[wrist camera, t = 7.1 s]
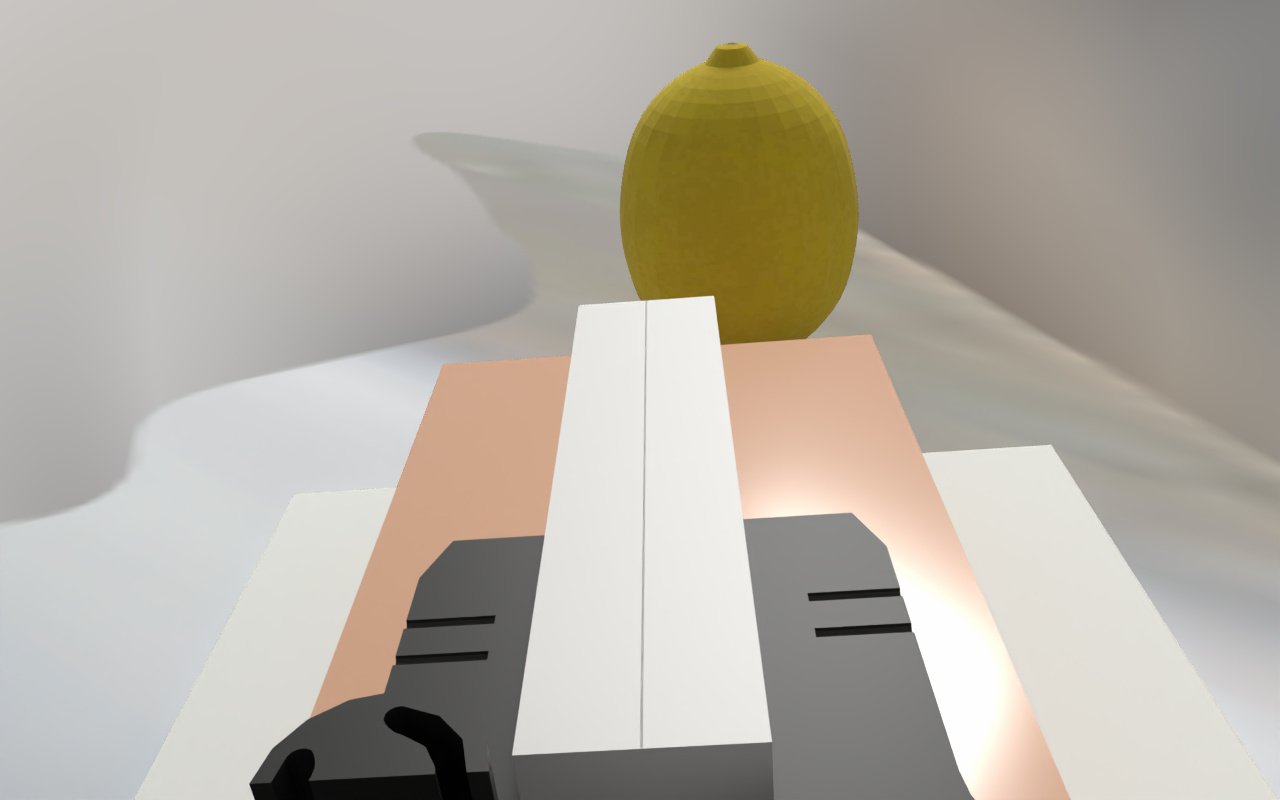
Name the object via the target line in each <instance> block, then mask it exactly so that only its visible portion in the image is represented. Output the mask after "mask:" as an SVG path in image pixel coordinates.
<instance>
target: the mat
mask: <svg viewBox="0 0 1280 800" xmlns="http://www.w3.org/2000/svg"><path fill="white" fill-rule="evenodd" d="M922 454H923V457H924V459H925V461H926V464H927V466H928V468H929V471H930V473H931V475H932V478H933V480H934V482H935V485H936V487H937V489H938V492H939V494H940V496H941V499H942V501H943V503H944V506H945V508H946V510H947V513H948V515H949V517H950V520H951V522H952V524H953V527H954V529H955V531H956V534H957V536H958V538H959V541H960V543H961V545H962V548H963V550H964V552H965V555H966V557H967V559H968V562H969V564H970V566H971V569H972V571H973V573H974V576H975V578H976V580H977V583H978V585H979V587H980V590H981V592H982V594H983V597H984V599H985V601H986V604H987V606H988V608H989V611H990V613H991V615H992V618H993V620H994V622H995V625H996V627H997V629H998V632H999V634H1000V636H1001V639H1002V641H1003V643H1004V646H1005V648H1006V650H1007V653H1008V655H1009V657H1010V660H1011V662H1012V664H1013V667H1014V669H1015V671H1016V674H1017V676H1018V678H1019V681H1020V683H1021V685H1022V688H1023V690H1024V692H1025V695H1026V697H1027V699H1028V702H1029V704H1030V706H1031V708H1032V711H1033V713H1034V715H1035V718H1036V720H1037V722H1038V725H1039V727H1040V729H1041V732H1042V734H1043V736H1044V739H1045V741H1046V743H1047V746H1048V748H1049V750H1050V753H1051V755H1052V757H1053V760H1054V762H1055V764H1056V767H1057V769H1058V771H1059V774H1060V776H1061V778H1062V781H1063V783H1064V785H1065V788H1066V790H1067V792H1068V795H1069V797H1070V799H1071V800H1278V798H1277V797H1276V795H1275V794H1274V792H1273V791H1272V789H1271V788H1270V786H1269V784H1268V783H1267V781H1266V780H1265V778H1264V777H1263V775H1262V774H1261V772H1260V770H1259V769H1258V767H1257V766H1256V764H1255V763H1254V761H1253V759H1252V758H1251V756H1250V755H1249V753H1248V752H1247V750H1246V749H1245V747H1244V745H1243V744H1242V742H1241V741H1240V739H1239V738H1238V736H1237V734H1236V733H1235V731H1234V730H1233V728H1232V727H1231V725H1230V724H1229V722H1228V720H1227V719H1226V717H1225V716H1224V714H1223V713H1222V711H1221V709H1220V708H1219V706H1218V705H1217V703H1216V702H1215V700H1214V699H1213V697H1212V695H1211V694H1210V692H1209V691H1208V689H1207V688H1206V686H1205V685H1204V683H1203V681H1202V680H1201V678H1200V677H1199V675H1198V674H1197V672H1196V670H1195V669H1194V667H1193V666H1192V664H1191V663H1190V661H1189V660H1188V658H1187V656H1186V655H1185V653H1184V652H1183V650H1182V649H1181V647H1180V645H1179V644H1178V642H1177V641H1176V639H1175V638H1174V636H1173V635H1172V633H1171V631H1170V630H1169V628H1168V627H1167V625H1166V624H1165V622H1164V620H1163V619H1162V617H1161V616H1160V614H1159V613H1158V611H1157V610H1156V608H1155V606H1154V605H1153V603H1152V602H1151V600H1150V599H1149V597H1148V596H1147V594H1146V592H1145V591H1144V589H1143V588H1142V586H1141V585H1140V583H1139V581H1138V580H1137V578H1136V577H1135V575H1134V574H1133V572H1132V571H1131V569H1130V567H1129V566H1128V564H1127V563H1126V561H1125V560H1124V558H1123V556H1122V555H1121V553H1120V552H1119V550H1118V549H1117V547H1116V546H1115V544H1114V542H1113V541H1112V539H1111V538H1110V536H1109V535H1108V533H1107V532H1106V530H1105V528H1104V527H1103V525H1102V524H1101V522H1100V521H1099V519H1098V517H1097V516H1096V514H1095V513H1094V511H1093V510H1092V508H1091V507H1090V505H1089V503H1088V502H1087V500H1086V499H1085V497H1084V496H1083V494H1082V492H1081V491H1080V489H1079V488H1078V486H1077V485H1076V483H1075V482H1074V480H1073V478H1072V477H1071V475H1070V474H1069V472H1068V471H1067V469H1066V467H1065V466H1064V464H1063V463H1062V461H1061V460H1060V458H1059V457H1058V455H1057V453H1056V452H1055V450H1054V449H1053V447H1052V446H1051V445H1042V446H1026V447H1011V448H995V449H980V450H965V451H949V452H934V453H922ZM396 488H397V487H393V488H377V489H362V490H347V491H331V492H316V493H300V494H294V495H293V497H292V499H291V501H290V503H289V505H288V507H287V509H286V511H285V513H284V515H283V516H282V518H281V520H280V522H279V524H278V526H277V528H276V530H275V532H274V534H273V536H272V537H271V539H270V541H269V543H268V545H267V547H266V549H265V551H264V553H263V555H262V556H261V558H260V560H259V562H258V564H257V566H256V568H255V570H254V572H253V574H252V576H251V577H250V579H249V581H248V583H247V585H246V587H245V589H244V591H243V593H242V595H241V597H240V598H239V600H238V602H237V604H236V606H235V608H234V610H233V612H232V614H231V616H230V617H229V619H228V621H227V623H226V625H225V627H224V629H223V631H222V633H221V635H220V637H219V638H218V640H217V642H216V644H215V646H214V648H213V650H212V652H211V654H210V656H209V658H208V659H207V661H206V663H205V665H204V667H203V669H202V671H201V673H200V675H199V677H198V678H197V680H196V682H195V684H194V686H193V688H192V690H191V692H190V694H189V696H188V698H187V699H186V701H185V703H184V705H183V707H182V709H181V711H180V713H179V715H178V717H177V719H176V720H175V722H174V724H173V726H172V728H171V730H170V732H169V734H168V736H167V738H166V739H165V741H164V743H163V745H162V747H161V749H160V751H159V753H158V755H157V757H156V759H155V760H154V762H153V764H152V766H151V768H150V770H149V772H148V774H147V776H146V778H145V780H144V781H143V783H142V785H141V787H140V789H139V791H138V793H137V795H136V797H135V799H134V800H255V799H254V797H253V794H252V791H251V788H250V785H249V783H250V782H251V780H252V779H253V777H254V776H255V774H256V773H257V771H258V769H259V768H260V766H261V765H262V763H263V762H264V760H265V759H266V757H267V756H268V754H269V753H270V751H271V750H272V748H273V747H275V746H276V745H277V744H278V743H279V742H281V741H282V740H283V739H284V738H286V737H287V736H288V735H289V734H290V733H292V732H293V731H294V730H295V729H296V728H298V727H299V726H300V725H301V724H303V723H304V722H305V721H306V720H307V719H309V718H310V716H311V714H312V711H313V708H314V706H315V703H316V700H317V698H318V695H319V692H320V690H321V687H322V685H323V682H324V679H325V677H326V674H327V671H328V669H329V666H330V663H331V661H332V658H333V655H334V653H335V650H336V647H337V645H338V642H339V639H340V637H341V634H342V631H343V629H344V626H345V623H346V621H347V618H348V615H349V613H350V610H351V608H352V605H353V602H354V600H355V597H356V594H357V592H358V589H359V586H360V584H361V581H362V578H363V576H364V573H365V570H366V568H367V565H368V562H369V560H370V557H371V554H372V552H373V549H374V546H375V544H376V541H377V539H378V536H379V533H380V531H381V528H382V525H383V523H384V520H385V517H386V515H387V512H388V509H389V507H390V504H391V501H392V499H393V496H394V493H395V491H396Z"/></svg>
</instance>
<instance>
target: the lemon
mask: <svg viewBox="0 0 1280 800" xmlns="http://www.w3.org/2000/svg"><path fill="white" fill-rule="evenodd" d="M858 215H859V213H858V194H857V185H856V179H855V173H854V168H853V163H852V159H851V155H850V151H849V148H848V145H847V141H846V138H845V135H844V133H843V131H842V128H841V126H840V124H839V121H838V119H837V118H836V116H835V115H834V113H833V111H832V110H831V108H830V107H829V105H828V103H827V102H826V101H825V99H824V98H823V97H822V96H821V95H820V94H819V93H818V92H817V91H816V89H814V88H813V87H812V86H811V85H810V84H809V83H808V82H806V81H805V80H804V79H803V78H801V77H800V76H798V75H797V74H795V73H793V72H792V71H790V70H789V69H786V68H784V67H782V66H780V65H777V64H775V63H772V62H770V61H767V60H763V59H760V58H758V57H757V56H756V55H755V53H754V52H753V51H752V50H751V49H750V48H749V47H748V45H747V44H743V43H728V44H723V45H719V46H717V47H716V48H715V49H714V51H713V52H712V54H711V55H710V57H709V58H708V59H707V61H706V62H704V63H702V64H700V65H698V66H695V67H693V68H691V69H690V70H688V71H686V72H685V73H683V74H681V75H680V76H678V77H677V78H675V79H674V80H673V81H672V82H671V83H669V84H668V85H667V86H666V87H664V88H663V89H662V90H661V92H660V93H659V94H658V95H657V96H656V97H655V98H654V99H653V100H652V101H651V103H650V104H649V106H648V107H647V108H646V110H645V111H644V113H643V114H642V116H641V118H640V121H639V123H638V124H637V127H636V129H635V131H634V133H633V136H632V139H631V142H630V145H629V148H628V152H627V156H626V161H625V165H624V172H623V178H622V187H621V197H620V225H621V235H622V243H623V248H624V253H625V258H626V261H627V265H628V268H629V272H630V275H631V278H632V281H633V284H634V286H635V289H636V291H637V294H638V296H639V298H640V300H641V301H648V300H662V299H676V298H690V297H704V296H714V300H715V307H716V315H717V323H718V330H719V338H720V345H728V344H742V343H757V342H771V341H785V340H800V339H806V338H807V337H808V336H809V335H811V334H812V333H813V332H814V331H815V330H816V329H817V328H818V327H819V326H820V325H821V324H822V323H823V321H824V320H825V319H826V318H827V317H828V315H829V314H830V313H831V312H832V311H833V309H834V308H835V306H836V304H837V303H838V301H839V300H840V298H841V296H842V293H843V291H844V289H845V287H846V284H847V281H848V278H849V275H850V271H851V267H852V262H853V257H854V252H855V247H856V241H857V233H858Z"/></svg>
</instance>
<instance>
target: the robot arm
mask: <svg viewBox="0 0 1280 800" xmlns="http://www.w3.org/2000/svg"><path fill="white" fill-rule="evenodd" d="M406 622H407V628H406V629H403V633H402V636H401V639H400V643H399V646H398V649H397V652H396V656H395V657H396V664H395V665H393V666H392V669H391V672H390V675H389V679H388V682H387V685H386V688H385V692H384V693H383V694H377V695H372V696H367V697H362V698H357V699H351V700H348V701H346V702H344V703H342V704H340V705H337V706H335V707H333V708H331V709H329V710H327V711H325V712H322V713H320V714H318V715H316V716H314V717H312V718H309V719H307V720H306V721H305V722H304V723H303V724H301V725H300V726H299V727H298V728H296V729H295V730H294V731H293V732H292V733H290V734H289V735H288V736H287V737H286V738H284V739H283V740H282V741H281V742H279V743H278V744H277V745H276V746H275V747H273V748H272V750H271V751H270V753H269V754H268V756H267V757H266V759H265V760H264V762H263V763H262V765H261V766H260V768H259V769H258V771H257V773H256V774H255V776H254V777H253V779H252V780H251V782H250V783H249V785H250V788H251V791H252V794H253V797H254V799H255V800H975V799H974V798H973V796H972V795H971V794H970V792H969V790H968V787H967V785H966V783H965V781H964V779H963V777H962V775H961V773H960V771H959V768H958V765H957V762H956V759H955V756H954V753H953V750H952V747H951V744H950V741H949V737H948V734H947V731H946V728H945V725H944V722H943V719H942V716H941V713H940V710H939V706H938V703H937V700H936V697H935V694H934V691H933V688H932V685H931V682H930V679H929V675H928V672H927V669H926V666H925V663H924V660H923V657H922V654H921V651H920V648H919V644H918V641H917V638H916V635H915V632H912V623H911V620H910V617H909V613H908V610H907V607H906V604H905V601H904V598H903V596H901V593H900V585H899V582H898V579H897V576H896V573H895V570H894V567H893V564H892V561H891V558H890V554H889V551H888V548H887V546H886V545H885V544H884V543H883V542H882V541H881V540H880V539H879V538H878V537H877V536H876V535H875V534H874V533H873V532H871V531H870V530H869V529H868V528H867V527H866V526H865V525H864V524H863V523H862V522H861V521H860V520H859V519H858V518H857V517H856V516H855V515H854V514H853V513H852V512H851V513H835V514H819V515H802V516H786V517H770V518H753V519H743V515H742V507H741V500H740V492H739V484H738V477H737V469H736V461H735V453H734V446H733V438H732V430H731V423H730V415H729V407H728V400H727V392H726V384H725V377H724V369H723V361H722V354H721V346H720V338H719V330H718V323H717V315H716V307H715V300H714V296H704V297H690V298H676V299H662V300H648V301H634V302H619V303H605V304H591V305H579V309H578V315H577V322H576V329H575V335H574V342H573V349H572V356H571V362H570V369H569V376H568V382H567V389H566V396H565V403H564V409H563V416H562V423H561V429H560V436H559V443H558V450H557V456H556V463H555V470H554V477H553V483H552V490H551V497H550V503H549V510H548V517H547V524H546V530H545V535H539V536H523V537H506V538H490V539H474V540H457V541H453V542H452V543H451V544H450V545H449V546H448V547H447V548H446V549H445V550H444V551H443V552H442V554H441V555H440V556H439V557H438V558H437V559H436V560H435V561H434V562H433V563H432V565H431V566H430V567H429V568H428V569H427V570H426V571H425V572H424V573H423V574H422V576H421V577H420V578H419V580H418V584H417V587H416V590H415V593H414V597H413V600H412V603H411V607H410V610H409V613H408V616H407V620H406Z"/></svg>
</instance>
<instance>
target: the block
mask: <svg viewBox="0 0 1280 800" xmlns="http://www.w3.org/2000/svg"><path fill="white" fill-rule="evenodd" d="M720 346H721V354H722V361H723V369H724V377H725V384H726V392H727V400H728V407H729V415H730V423H731V430H732V438H733V446H734V453H735V461H736V469H737V477H738V484H739V492H740V500H741V507H742V515H743V519H753V518H770V517H786V516H802V515H819V514H835V513H851V512H852V513H853V514H854V515H855V516H856V517H857V518H858V519H859V520H860V521H861V522H862V523H863V524H864V525H865V526H866V527H867V528H868V529H869V530H870V531H871V532H873V533H874V534H875V535H876V536H877V537H878V538H879V539H880V540H881V541H882V542H883V543H884V544H885V545H886V546H887V548H888V551H889V554H890V558H891V561H892V564H893V567H894V570H895V573H896V576H897V579H898V582H899V585H900V593H901V596H903V598H904V601H905V604H906V607H907V610H908V613H909V617H910V620H911V623H912V632H915V635H916V638H917V641H918V644H919V648H920V651H921V654H922V657H923V660H924V663H925V666H926V669H927V672H928V675H929V679H930V682H931V685H932V688H933V691H934V694H935V697H936V700H937V703H938V706H939V710H940V713H941V716H942V719H943V722H944V725H945V728H946V731H947V734H948V737H949V741H950V744H951V747H952V750H953V753H954V756H955V759H956V762H957V765H958V768H959V771H960V773H961V775H962V777H963V779H964V781H965V783H966V785H967V787H968V790H969V792H970V794H971V795H972V796H973V798H974V799H975V800H1071V799H1070V797H1069V795H1068V792H1067V790H1066V788H1065V785H1064V783H1063V781H1062V778H1061V776H1060V774H1059V771H1058V769H1057V767H1056V764H1055V762H1054V760H1053V757H1052V755H1051V753H1050V750H1049V748H1048V746H1047V743H1046V741H1045V739H1044V736H1043V734H1042V732H1041V729H1040V727H1039V725H1038V722H1037V720H1036V718H1035V715H1034V713H1033V711H1032V708H1031V706H1030V704H1029V702H1028V699H1027V697H1026V695H1025V692H1024V690H1023V688H1022V685H1021V683H1020V681H1019V678H1018V676H1017V674H1016V671H1015V669H1014V667H1013V664H1012V662H1011V660H1010V657H1009V655H1008V653H1007V650H1006V648H1005V646H1004V643H1003V641H1002V639H1001V636H1000V634H999V632H998V629H997V627H996V625H995V622H994V620H993V618H992V615H991V613H990V611H989V608H988V606H987V604H986V601H985V599H984V597H983V594H982V592H981V590H980V587H979V585H978V583H977V580H976V578H975V576H974V573H973V571H972V569H971V566H970V564H969V562H968V559H967V557H966V555H965V552H964V550H963V548H962V545H961V543H960V541H959V538H958V536H957V534H956V531H955V529H954V527H953V524H952V522H951V520H950V517H949V515H948V513H947V510H946V508H945V506H944V503H943V501H942V499H941V496H940V494H939V492H938V489H937V487H936V485H935V482H934V480H933V478H932V475H931V473H930V471H929V468H928V466H927V464H926V461H925V459H924V457H923V454H922V452H921V450H920V447H919V445H918V443H917V440H916V438H915V436H914V433H913V431H912V429H911V427H910V424H909V422H908V420H907V417H906V415H905V413H904V410H903V408H902V406H901V403H900V401H899V399H898V396H897V394H896V392H895V389H894V387H893V385H892V382H891V380H890V378H889V375H888V373H887V371H886V368H885V366H884V364H883V361H882V359H881V357H880V354H879V352H878V350H877V347H876V345H875V343H874V340H873V338H872V336H871V335H857V336H843V337H828V338H814V339H800V340H785V341H771V342H757V343H742V344H728V345H720ZM571 356H572V355H570V356H556V357H541V358H527V359H513V360H498V361H484V362H470V363H455V364H443V366H442V369H441V371H440V374H439V377H438V379H437V382H436V385H435V387H434V390H433V393H432V395H431V398H430V401H429V403H428V406H427V408H426V411H425V414H424V416H423V419H422V422H421V424H420V427H419V430H418V432H417V435H416V438H415V440H414V443H413V446H412V448H411V451H410V454H409V456H408V459H407V462H406V464H405V467H404V470H403V472H402V475H401V477H400V480H399V483H398V485H397V488H396V491H395V493H394V496H393V499H392V501H391V504H390V507H389V509H388V512H387V515H386V517H385V520H384V523H383V525H382V528H381V531H380V533H379V536H378V539H377V541H376V544H375V546H374V549H373V552H372V554H371V557H370V560H369V562H368V565H367V568H366V570H365V573H364V576H363V578H362V581H361V584H360V586H359V589H358V592H357V594H356V597H355V600H354V602H353V605H352V608H351V610H350V613H349V615H348V618H347V621H346V623H345V626H344V629H343V631H342V634H341V637H340V639H339V642H338V645H337V647H336V650H335V653H334V655H333V658H332V661H331V663H330V666H329V669H328V671H327V674H326V677H325V679H324V682H323V685H322V687H321V690H320V692H319V695H318V698H317V700H316V703H315V706H314V708H313V711H312V714H311V716H310V718H312V717H314V716H316V715H318V714H320V713H322V712H325V711H327V710H329V709H331V708H333V707H335V706H337V705H340V704H342V703H344V702H346V701H348V700H351V699H357V698H362V697H367V696H372V695H377V694H383V693H384V692H385V688H386V685H387V682H388V679H389V675H390V672H391V669H392V666H393V665H395V664H396V657H395V656H396V652H397V649H398V646H399V643H400V639H401V636H402V633H403V629H406V628H407V622H406V620H407V616H408V613H409V610H410V607H411V603H412V600H413V597H414V593H415V590H416V587H417V584H418V580H419V578H420V577H421V576H422V574H423V573H424V572H425V571H426V570H427V569H428V568H429V567H430V566H431V565H432V563H433V562H434V561H435V560H436V559H437V558H438V557H439V556H440V555H441V554H442V552H443V551H444V550H445V549H446V548H447V547H448V546H449V545H450V544H451V543H452V542H453V541H457V540H474V539H490V538H506V537H523V536H539V535H545V530H546V524H547V517H548V510H549V503H550V497H551V490H552V483H553V477H554V470H555V463H556V456H557V450H558V443H559V436H560V429H561V423H562V416H563V409H564V403H565V396H566V389H567V382H568V376H569V369H570V362H571Z"/></svg>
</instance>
